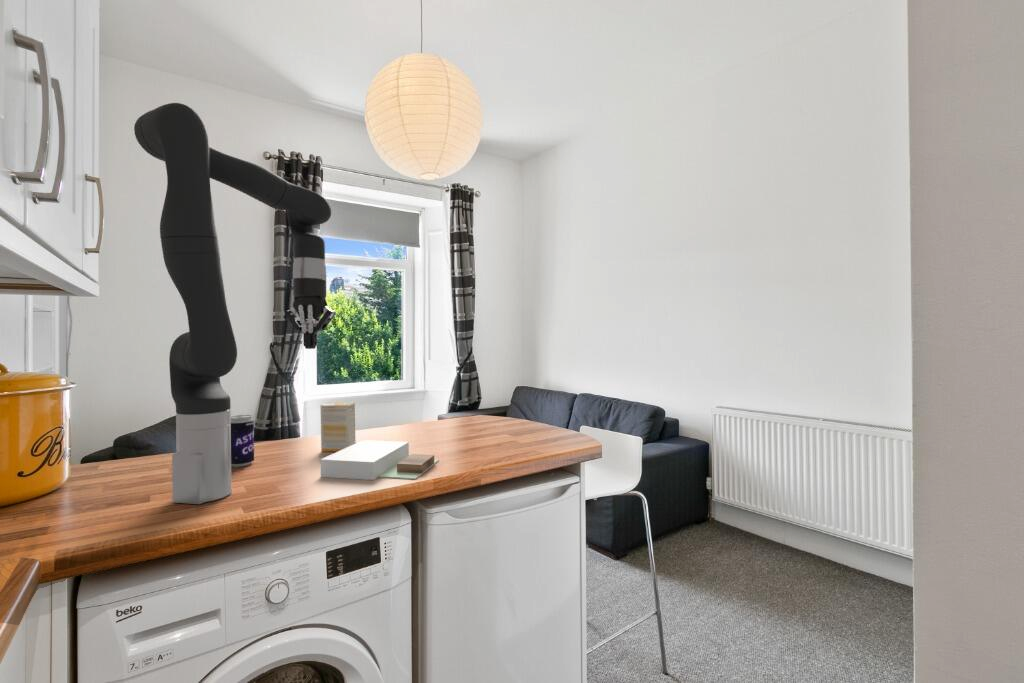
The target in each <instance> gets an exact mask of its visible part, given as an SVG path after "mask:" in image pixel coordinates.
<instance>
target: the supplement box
mask: <svg viewBox="0 0 1024 683" xmlns="http://www.w3.org/2000/svg"><path fill="white" fill-rule="evenodd" d="M355 405H356V403H355V402H326V403H323V404H321V405H320V442H321V443H320V445H321V446H320V448H321V452H338V451H340V450H342V449H345V448H347V447H349V446H351V445H353V444H356V443H357V441H356V408H355V407H356V406H355Z"/></svg>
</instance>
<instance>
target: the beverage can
mask: <svg viewBox="0 0 1024 683" xmlns="http://www.w3.org/2000/svg"><path fill="white" fill-rule="evenodd" d="M254 422H255V420H254V419H253V416H252V415H251V414H239V415H233V416H231V467H234V468H236V467H237V468H239V467H246V466H249V465H251V464H252V463H253V462H254V460H255V426H254V425H255V423H254Z"/></svg>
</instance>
